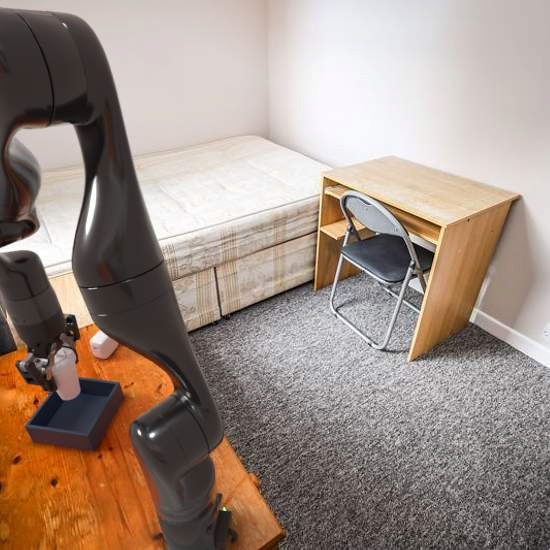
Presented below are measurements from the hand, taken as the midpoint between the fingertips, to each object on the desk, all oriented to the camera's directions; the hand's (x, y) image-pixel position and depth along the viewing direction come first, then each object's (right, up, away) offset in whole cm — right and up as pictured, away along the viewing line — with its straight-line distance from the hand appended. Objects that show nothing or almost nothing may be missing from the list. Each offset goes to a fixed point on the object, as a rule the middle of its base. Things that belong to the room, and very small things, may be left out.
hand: (63, 375), depth 75 cm
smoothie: (0, -4, +3) cm, 5 cm away
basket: (0, -11, +8) cm, 14 cm away
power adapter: (-1, +1, +27) cm, 27 cm away
